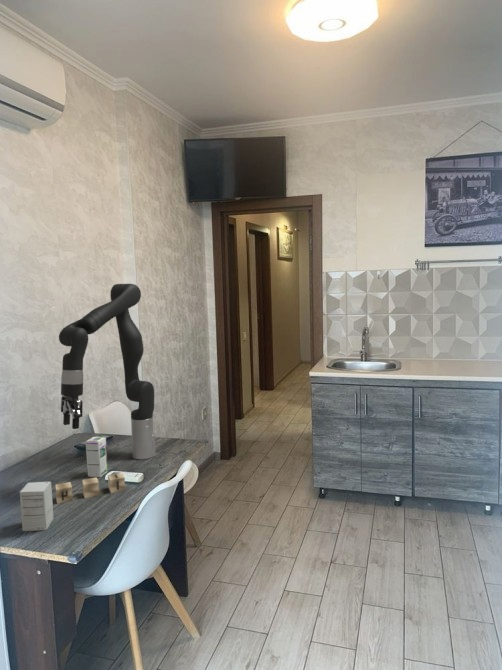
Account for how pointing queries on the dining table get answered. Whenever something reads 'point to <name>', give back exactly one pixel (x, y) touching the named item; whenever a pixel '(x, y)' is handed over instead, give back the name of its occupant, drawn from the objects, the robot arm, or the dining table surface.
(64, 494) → the light wooden cube
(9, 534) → the dining table surface
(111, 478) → the digit one block
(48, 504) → the supplement box
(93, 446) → the syrup box
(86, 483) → the plain block
